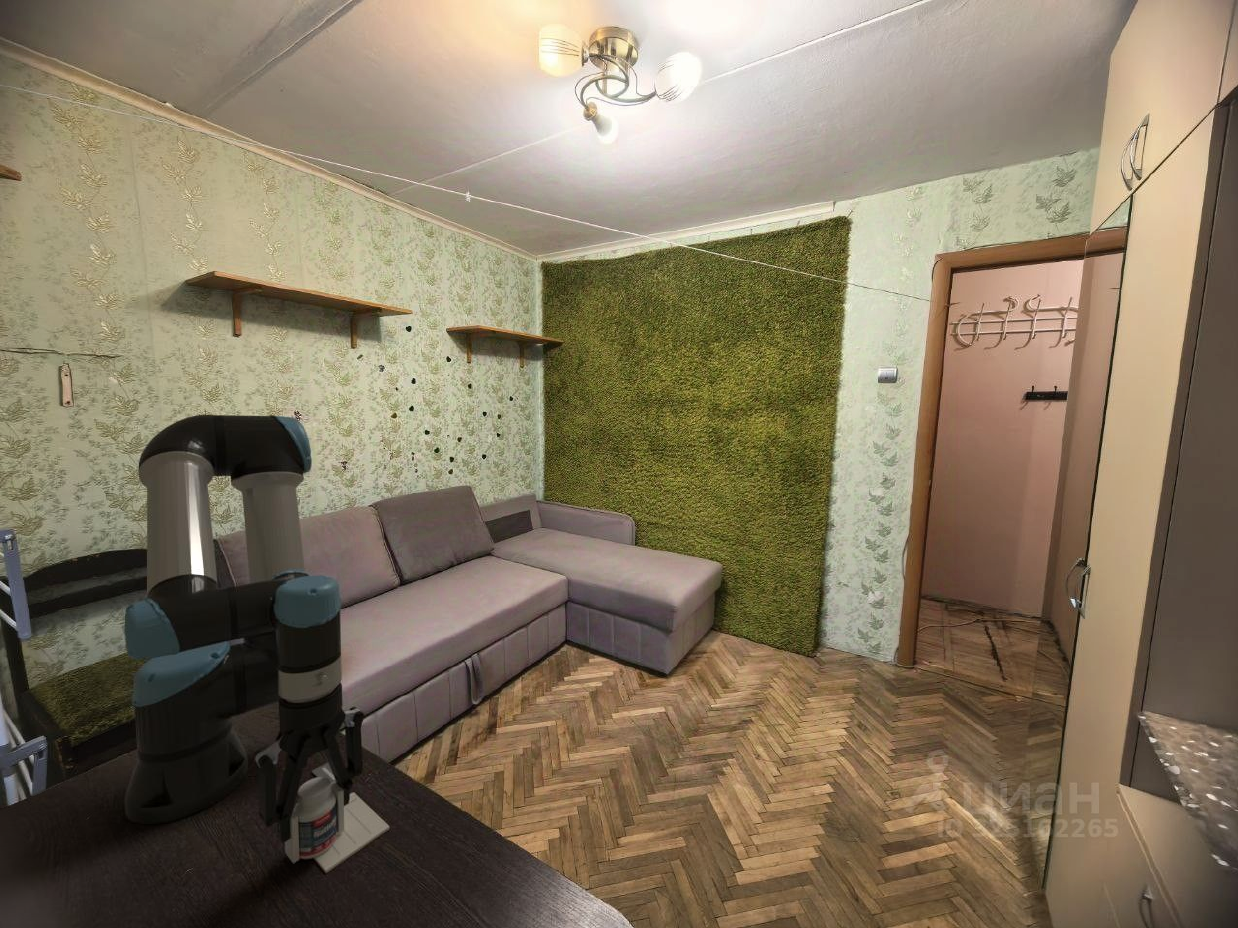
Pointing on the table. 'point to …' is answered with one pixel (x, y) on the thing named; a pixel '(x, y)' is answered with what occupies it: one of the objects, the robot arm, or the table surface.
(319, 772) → the grey striped flat block
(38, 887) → the table surface
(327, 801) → the pill bottle
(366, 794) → the table surface
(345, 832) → the paper
